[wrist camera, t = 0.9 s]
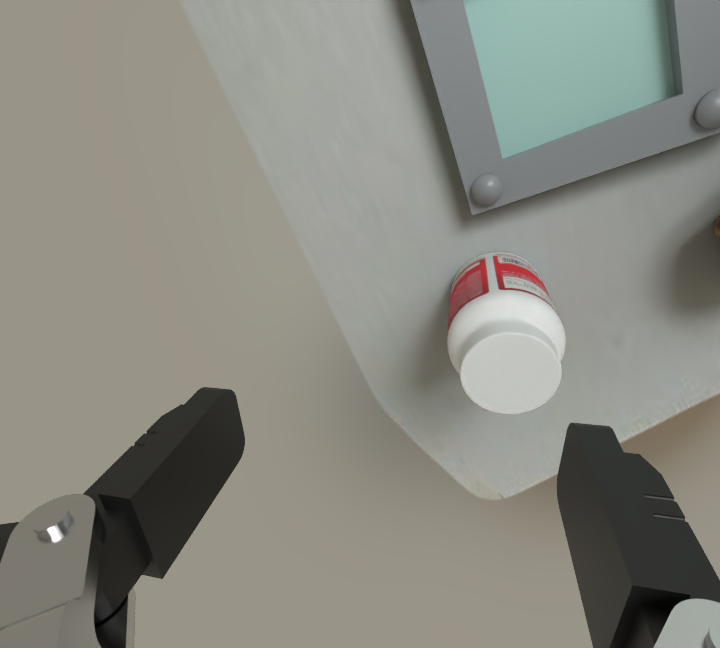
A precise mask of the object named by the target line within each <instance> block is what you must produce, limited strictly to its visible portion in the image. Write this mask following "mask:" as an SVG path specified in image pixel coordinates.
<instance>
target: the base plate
mask: <svg viewBox="0 0 720 648" xmlns="http://www.w3.org/2000/svg"><path fill="white" fill-rule="evenodd" d="M410 1H411V5H412V8H413V12H414V15H415V19H416V22H417V26H418V29H419V33H420V36H421V40H422V43H423V47H424V50H425V53H426V57H427V60H428V64H429V67H430V71H431V74H432V78H433V81H434V85H435V88H436V92H437V95H438V99H439V102H440V106H441V109H442V112H443V116H444V119H445V123H446V126H447V130H448V133H449V137H450V140H451V144H452V147H453V151H454V154H455V158H456V161H457V165H458V168H459V171H460V175H461V178H462V182H463V185H464V189H465V192H466V196H467V199H468V203H469V206H470V210H471V213H472V216H473V215H476V214H479V213H482V212H485V211H488V210H491V209H494V208H497V207H500V206H503V205H506V204H509V203H512V202H515V201H518V200H521V199H524V198H527V197H530V196H533V195H535V194H538V193H541V192H544V191H547V190H550V189H553V188H556V187H559V186H562V185H565V184H568V183H571V182H574V181H577V180H580V179H583V178H586V177H589V176H592V175H595V174H598V173H601V172H604V171H607V170H610V169H613V168H616V167H619V166H622V165H625V164H628V163H631V162H634V161H637V160H640V159H643V158H646V157H649V156H652V155H655V154H658V153H661V152H664V151H667V150H670V149H673V148H676V147H678V146H681V145H684V144H687V143H690V142H693V141H696V140H699V139H702V138H705V137H708V136H711V135H714V134H717V133H720V0H410Z"/></svg>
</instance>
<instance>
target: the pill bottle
mask: <svg viewBox="0 0 720 648" xmlns="http://www.w3.org/2000/svg"><path fill="white" fill-rule="evenodd" d="M565 346H566V337H565V331H564V327H563V325H562V322H561V320H560V317H559V316H558V314H557V311H556V309H555V307H554V305H553V303H552V301H551V299H550V297H549V295H548V292H547V290H546V288H545V286H544V284H543V282H542V280H541V278H540V276H539V274H538V273H537V271H536V270H535V268H534V267H533V266H532V265H531V264H530V263H529V262H528V261H526V260H525V259H523V258H522V257H520V256H517V255H514V254H511V253H506V252H492V253H486V254H483V255H480V256H477V257H475V258H473V259H472V260H470V261H469V262H467V263H466V264H465V265H464V266H463V267H462V268H461V269H460V270H459V272H458V273H457V275H456V276H455V278H454V281H453V284H452V287H451V292H450V305H449V320H448V334H447V347H448V354H449V357H450V360H451V362H452V364H453V366H454V368H455V369H456V371H457V372H458V373H459V375H460V380H461V384H462V387H463V389H464V391H465V393H466V394H467V395H468V397H469V398H470V399H471V400H472V401H473V402H475V403H476V404H477V405H479V406H480V407H482V408H484V409H486V410H488V411H491V412H495V413H499V414H520V413H525V412H528V411H531V410H534V409H536V408H538V407H540V406H541V405H543V404H544V403H546V402H547V401H548V400H549V399H550V398H551V397H552V396H553V395H554V393H555V392H556V390H557V388H558V386H559V384H560V381H561V364H560V363H561V361H562V359H563V356H564V352H565Z"/></svg>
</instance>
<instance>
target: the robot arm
mask: <svg viewBox="0 0 720 648" xmlns="http://www.w3.org/2000/svg"><path fill="white" fill-rule="evenodd" d="M244 445H245V437H244V431H243V426H242V422H241V417H240V413H239V408H238V403H237V399H236V395H235V393H234V392H233V391H232V390H229V389H218V388H207V387H203V388H201V389H199V390H198V391H197V392H196V393H195V394H194V395H193V396H192V397H191V398H190V399H189V400H188V402H186V403H185V404H184V405H180V406H178V407H176V408H175V409H173V410H171V411H170V412H168V413H166V414H165V415H163V416H161V417H160V419H158V421H157V422H155V423H154V424H153V425H152V426H151V427H150V428H149V429H148V430H147V433H146V434H143V435H142V436H141V437H140V438H139V439H138V440H137V441H136V442H135V445H134V446H131V447H130V448H129V449H128V450H127V451H126V452H125V453H124V454H123V455H122V456H121V457H120V458H119V459H118V460H117V461H116V462H115V463H114V464H113V465H112V466H111V467H110V468H109V469H108V470H107V471H106V472H105V473H104V474H103V475H102V476H101V477H100V478H99V479H98V480H97V481H96V482H95V483H94V484H93V485H92V486H91V487H90V488H89V489H88V490H87V491H86V492H85V493H84V494H72V495H66V496H62V497H59V498H56V499H53V500H51V501H49V502H47V503H45V504H43V505H41V506H39V507H38V508H36V509H35V510H33V511H32V512H31V513H29V514H28V515H27V516H26V517H25V518H23V520H21V521H20V522H16V523H8V524H1V525H0V648H134V634H135V600H136V596H135V591H134V588H133V586H134V585H135V583H136V582H137V580H138V579H139V578H140V576H141V575H146V576H151V577H156V578H161V579H163V577H164V576H165V574H166V573H167V571H168V570H169V568H170V566H171V565H172V563H173V562H174V560H175V559H176V557H177V556H178V554H179V553H180V551H181V550H182V548H183V547H184V545H185V544H186V542H187V541H188V539H189V537H190V536H191V534H192V533H193V531H194V530H195V528H196V527H197V525H198V524H199V522H200V521H201V519H202V518H203V516H204V515H205V513H206V511H207V510H208V508H209V507H210V505H211V504H212V502H213V501H214V499H215V498H216V496H217V495H218V493H219V492H220V490H221V488H222V487H223V485H224V484H225V482H226V481H227V479H228V478H229V476H230V475H231V473H232V472H233V470H234V469H235V467H236V465H237V464H238V462H239V461H240V459H241V457H242V454H243V450H244ZM557 496H558V504H559V508H560V512H561V517H562V521H563V525H564V528H565V533H566V537H567V541H568V545H569V549H570V553H571V557H572V561H573V566H574V570H575V574H576V578H577V582H578V586H579V591H580V595H581V599H582V603H583V607H584V611H585V615H586V619H587V624H588V628H589V632H590V636H591V640H592V644H593V648H720V580H719V578H718V576H717V575H716V573H715V571H714V569H713V567H712V565H711V564H710V562H709V560H708V558H707V556H706V555H705V553H704V551H703V549H702V547H701V545H700V544H699V542H698V540H697V538H696V536H695V535H694V533H693V531H692V529H691V527H690V526H689V524H688V523H687V522H685V516H684V515H683V513H682V511H681V509H680V507H679V506H678V504H677V502H674V497H673V495H672V493H671V491H670V489H669V487H668V486H667V484H666V482H665V480H664V478H663V477H662V475H661V474H660V473H659V472H658V471H657V470H656V469H655V468H654V467H653V466H652V465H651V464H649V463H648V462H647V461H646V460H645V459H644V458H643V457H642V456H641V455H640V454H632V453H624V452H623V450H622V448H621V446H620V444H619V442H618V440H617V437H616V435H615V433H614V431H613V429H612V428H611V427H609V426H601V425H590V424H580V423H570V424H569V426H568V429H567V433H566V438H565V443H564V447H563V452H562V457H561V462H560V467H559V471H558V478H557Z"/></svg>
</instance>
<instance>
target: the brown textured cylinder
mask: <svg viewBox="0 0 720 648" xmlns="http://www.w3.org/2000/svg"><path fill="white" fill-rule="evenodd" d="M713 231H714V233H715V234H716V236H717V238H718V239H719V240H720V216H719V217H718V218H717V219H716V221H715V222H714V224H713Z"/></svg>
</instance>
